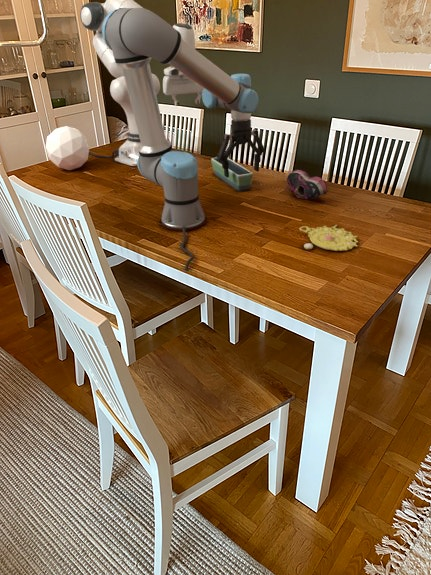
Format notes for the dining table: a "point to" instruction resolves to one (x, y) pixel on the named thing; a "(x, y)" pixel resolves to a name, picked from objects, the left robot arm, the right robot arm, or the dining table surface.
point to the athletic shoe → (306, 185)
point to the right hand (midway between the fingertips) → (241, 173)
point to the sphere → (67, 148)
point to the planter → (233, 174)
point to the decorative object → (330, 238)
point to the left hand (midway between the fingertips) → (187, 104)
